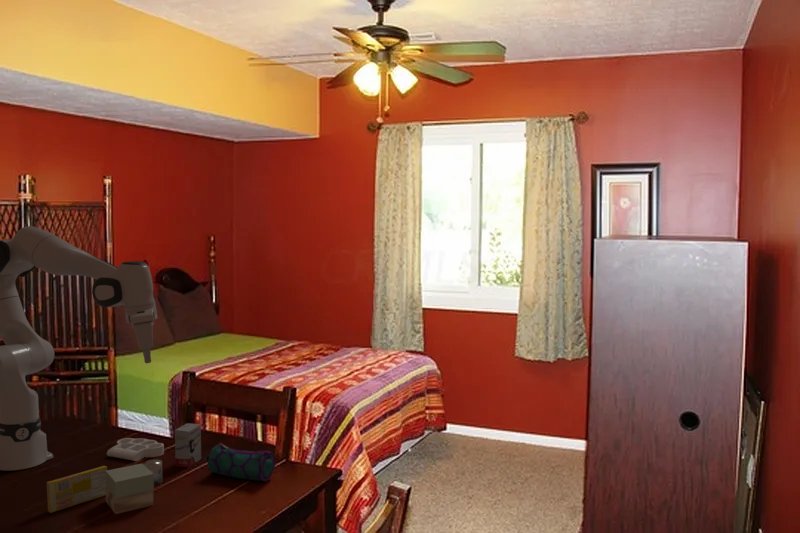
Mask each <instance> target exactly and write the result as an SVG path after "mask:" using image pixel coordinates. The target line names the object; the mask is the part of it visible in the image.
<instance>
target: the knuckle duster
mask: <svg viewBox="0 0 800 533" xmlns="http://www.w3.org/2000/svg"><path fill="white" fill-rule="evenodd" d="M164 454H165V445H164V443H162V442H158V441H157V440H154V439H148V438H132V437H126V438H121V439H118V440H117V441H116V444H115V445H114V446H112V447H110V448H109V449H108V450H107V452H106V456H108V457H110V458H119V459H122V460H129V461H133V462H138V461H141V460H143V459H145V458H144V457H146V458H156V457H157V458H158V457H161V456H162V455H164ZM142 458H143V459H142Z"/></svg>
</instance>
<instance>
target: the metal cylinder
mask: <svg viewBox="0 0 800 533" xmlns="http://www.w3.org/2000/svg"><path fill="white" fill-rule="evenodd" d="M143 464H144V465H145V466H146V467H147V468H148V469H149V470H150V471H151V472H152V473H153V474H154V486H156V485H160V484H162V483H163V480H164V479H163V460H161V459H158V458H157V459H156V458H155V459H149V460H146V461H145V462H144V463H143Z"/></svg>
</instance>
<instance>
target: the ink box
mask: <svg viewBox="0 0 800 533" xmlns="http://www.w3.org/2000/svg"><path fill="white" fill-rule="evenodd" d="M201 427H202V426H201V424H199V423H197V424H196V423H191V422H190V423H185V424H184V425H181V426H180V427H177V428H176V429H175V431H174V436H175V437H174V441H175V443H174V445H175V449H174V450H175V451H174V452H175V455H174V456H175V467H178V468H179V467H181V468H190V467H192V466H193V465H195V464H196V463H197V462H199V461H200V460H201V459H202V439H201V438H202V434H201V433H202V428H201Z"/></svg>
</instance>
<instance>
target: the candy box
mask: <svg viewBox="0 0 800 533" xmlns="http://www.w3.org/2000/svg"><path fill="white" fill-rule="evenodd" d="M107 470H108V466H106V465H102V466H99V467H95V468H92V469H88V470H85V471H81V472H77V473H75V474H74V473H73V474H70V475H66V476H64V477H60V478H56V479H53V480H49V481H47V482H46V496H47V498H46V499H47V512H48V513H50V514H52V513H55V512H57V511H62V510H64V509H68V508H71V507H74V506H77V505H80V504H83V503H86V502H89V501H92V500H97V499H99V498H102V497H104V496H105V497H106V471H107Z"/></svg>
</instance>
